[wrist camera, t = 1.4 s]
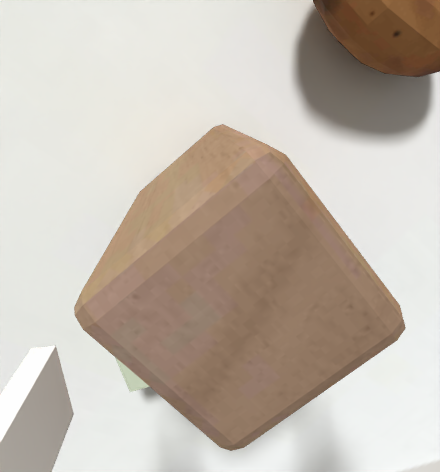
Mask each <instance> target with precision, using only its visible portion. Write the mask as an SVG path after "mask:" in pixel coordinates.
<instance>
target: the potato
mask: <svg viewBox="0 0 440 472" xmlns="http://www.w3.org/2000/svg"><path fill="white" fill-rule="evenodd" d="M313 2H314V4H315V6H316V8H317V10H318V11H319V13H320V15H321V17H322V19H323V20H324V22H325V24H326V26H327V28H328V30H329V31H330V32H331V33H332V34H333V35H334V37H335V38H336V39H337V40H338V41H339V42H340V43H341V44H342V45H343V46H344V47H345V48H346V49H347V50H348V51H349V52H350V53H351V54H352V55H353V56H354V57H355V58H356V59H358V60H359V61H360V62H361V63H363V64H365V65H367V66H369V67H372V68H374V69H376V70H378V71H380V72H383V73H386V74H395V75H403V76H414V77H420V76H424V75H428V74H432V73H436V72H439V71H440V0H313Z"/></svg>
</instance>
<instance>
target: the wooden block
mask: <svg viewBox="0 0 440 472" xmlns="http://www.w3.org/2000/svg"><path fill="white" fill-rule="evenodd" d="M74 310H75V316H76V318H77V320H78V322H79V323H80V325H81V327H82V328H83V330H84V331H86V332H87V333H88V334H89V335H90V336H91V337H93V338H94V339H95V340H96V341H97V342H98V343H99V344H101V345H102V346H103V347H104V348H105V349H106V350H108V351H109V352H110V353H111V354H112V355H113V356H115V357H116V358H117V359H118V360H119V361H120V362H122V363H123V364H124V365H125V366H126V367H127V368H129V369H130V370H131V371H132V372H133V373H134V374H136V375H137V376H138V377H139V378H140V379H141V380H143V381H144V382H145V383H146V384H147V385H148V386H150V387H151V388H152V389H153V390H154V391H155V392H157V393H158V394H159V395H160V396H161V397H162V398H164V399H165V400H166V401H167V402H168V403H169V404H171V405H172V406H173V407H174V408H175V409H176V410H178V411H179V412H180V413H181V414H182V415H183V416H185V417H186V418H187V419H188V420H189V421H190V422H192V423H193V424H194V425H195V426H196V427H197V428H199V429H200V430H201V431H202V432H203V433H204V434H206V435H207V436H208V437H209V438H210V439H211V440H212V441H214V442H215V443H216V444H217V445H218V446H219V447H221V448H224V449H227V450H231V451H232V450H236V449H240V448H244V447H245V446H247V445H248V444H250V443H251V442H252V441H254V440H255V439H257V438H258V437H260V436H261V435H262V434H264V433H265V432H267V431H268V430H270V429H271V428H272V427H274V426H275V425H277V424H278V423H280V422H281V421H282V420H284V419H285V418H287V417H288V416H290V415H291V414H292V413H294V412H295V411H297V410H298V409H300V408H301V407H302V406H304V405H305V404H307V403H308V402H310V401H311V400H312V399H314V398H315V397H317V396H318V395H320V394H321V393H322V392H324V391H325V390H327V389H328V388H330V387H331V386H332V385H334V384H335V383H337V382H338V381H340V380H341V379H342V378H344V377H345V376H347V375H348V374H350V373H351V372H352V371H354V370H355V369H357V368H358V367H360V366H361V365H362V364H364V363H365V362H367V361H368V360H370V359H371V358H372V357H374V356H375V355H377V354H378V353H380V352H381V351H382V350H384V349H385V348H387V347H388V346H390V345H391V344H392V343H394V342H395V341H397V340H398V338H399V337H400V335H401V334H402V333H403V331H404V330H405V328H406V327H405V324H404V320H403V317H402V312H401V308H400V305H399V304H398V302H397V301H396V300H395V298H394V297H393V296H392V294H391V293H390V292H389V290H388V289H387V288H386V287H385V285H384V284H383V283H382V281H381V280H380V279H379V277H378V276H377V275H376V273H375V272H374V271H373V269H372V268H371V267H370V265H369V264H368V263H367V261H366V260H365V259H364V257H363V256H362V255H361V253H360V252H359V251H358V250H357V248H356V247H355V246H354V244H353V243H352V242H351V240H350V239H349V238H348V236H347V235H346V234H345V232H344V231H343V230H342V228H341V227H340V226H339V224H338V223H337V222H336V220H335V219H334V218H333V216H332V215H331V214H330V212H329V211H328V210H327V209H326V207H325V206H324V205H323V203H322V202H321V201H320V199H319V198H318V197H317V195H316V194H315V193H314V191H313V190H312V189H311V187H310V186H309V185H308V183H307V182H306V181H305V179H304V178H303V177H302V175H301V174H300V173H299V172H298V170H297V169H296V168H295V166H294V165H293V164H292V162H291V161H290V160H289V158H288V157H287V156H286V155H285V154H283V153H281V152H280V151H278V150H276V149H274V148H272V147H271V146H269V145H267V144H265V143H262V142H260V141H258V140H256V139H254V138H252V137H249V136H247V135H245V134H243V133H241V132H238V131H236V130H234V129H232V128H230V127H228V126H225V125H223V124H222V125H219V126H216V127H213V128H212V129H211V130H210V131H209V132H208V133H207V134H205V135H204V136H203V137H202V138H201V139H200V140H199V141H197V142H196V143H195V144H194V145H193V146H192V147H191V148H189V149H188V150H187V151H186V152H185V153H184V154H183V155H181V156H180V157H179V158H178V159H177V160H176V161H175V162H173V163H172V164H171V165H170V166H169V167H168V168H167V169H165V170H164V171H163V172H162V173H161V174H160V175H159V176H157V177H156V178H155V179H154V180H153V181H152V182H151V183H149V184H148V185H147V186H146V187H145V188H144V189H143V190H141V191H140V192H139V194H138V196H137V198H136V199H135V201H134V203H133V204H132V206H131V208H130V210H129V211H128V213H127V215H126V216H125V218H124V220H123V222H122V223H121V225H120V227H119V228H118V230H117V232H116V233H115V235H114V237H113V239H112V240H111V242H110V244H109V245H108V247H107V249H106V251H105V252H104V254H103V256H102V257H101V259H100V261H99V263H98V264H97V266H96V268H95V269H94V271H93V273H92V274H91V276H90V278H89V280H88V281H87V283H86V285H85V286H84V288H83V290H82V292H81V294H80V296H79V298H78V300H77V303H76V305H75V307H74Z"/></svg>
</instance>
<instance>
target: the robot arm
mask: <svg viewBox="0 0 440 472" xmlns="http://www.w3.org/2000/svg"><path fill="white" fill-rule="evenodd" d="M72 417H73V410H72V406H71V402H70V398H69V395H68V391H67V387H66V383H65V379H64V376H63V372H62V368H61V364H60V360H59V356H58V353H57V349H56V346H48V347H39V348H31V349H30V351H29V352H28V354H27V355H26V357H25V358H24V360H23V361H22V363H21V364H20V366H19V367H18V369H17V370H16V372H15V373H14V375H13V376H12V378H11V379H10V381H9V382H8V384H7V385H6V387H5V388H4V390H3V391H2V393H1V394H0V472H52V469H53V466H54V464H55V461H56V459H57V456H58V453H59V451H60V448H61V446H62V443H63V440H64V438H65V435H66V433H67V430H68V427H69V425H70V422H71V420H72Z"/></svg>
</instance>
